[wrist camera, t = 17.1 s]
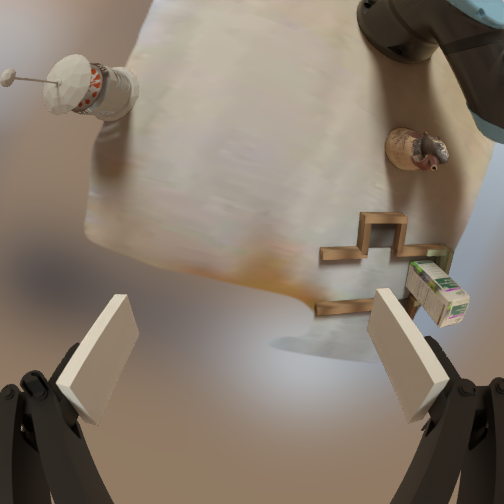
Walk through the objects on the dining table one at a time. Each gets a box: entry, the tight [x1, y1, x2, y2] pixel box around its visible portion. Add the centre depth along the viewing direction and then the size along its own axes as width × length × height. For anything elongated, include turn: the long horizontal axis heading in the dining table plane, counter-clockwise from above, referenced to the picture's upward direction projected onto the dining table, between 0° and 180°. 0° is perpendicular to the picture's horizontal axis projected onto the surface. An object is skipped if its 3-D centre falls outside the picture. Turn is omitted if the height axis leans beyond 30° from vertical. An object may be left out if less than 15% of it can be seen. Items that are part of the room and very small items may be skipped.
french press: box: [0, 54, 139, 121], centre depth 23 cm, size 10×12×25 cm
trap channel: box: [315, 212, 454, 321], centre depth 47 cm, size 27×25×4 cm
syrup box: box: [406, 260, 470, 328], centre depth 42 cm, size 6×6×14 cm
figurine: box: [385, 127, 449, 171], centre depth 33 cm, size 7×7×12 cm
